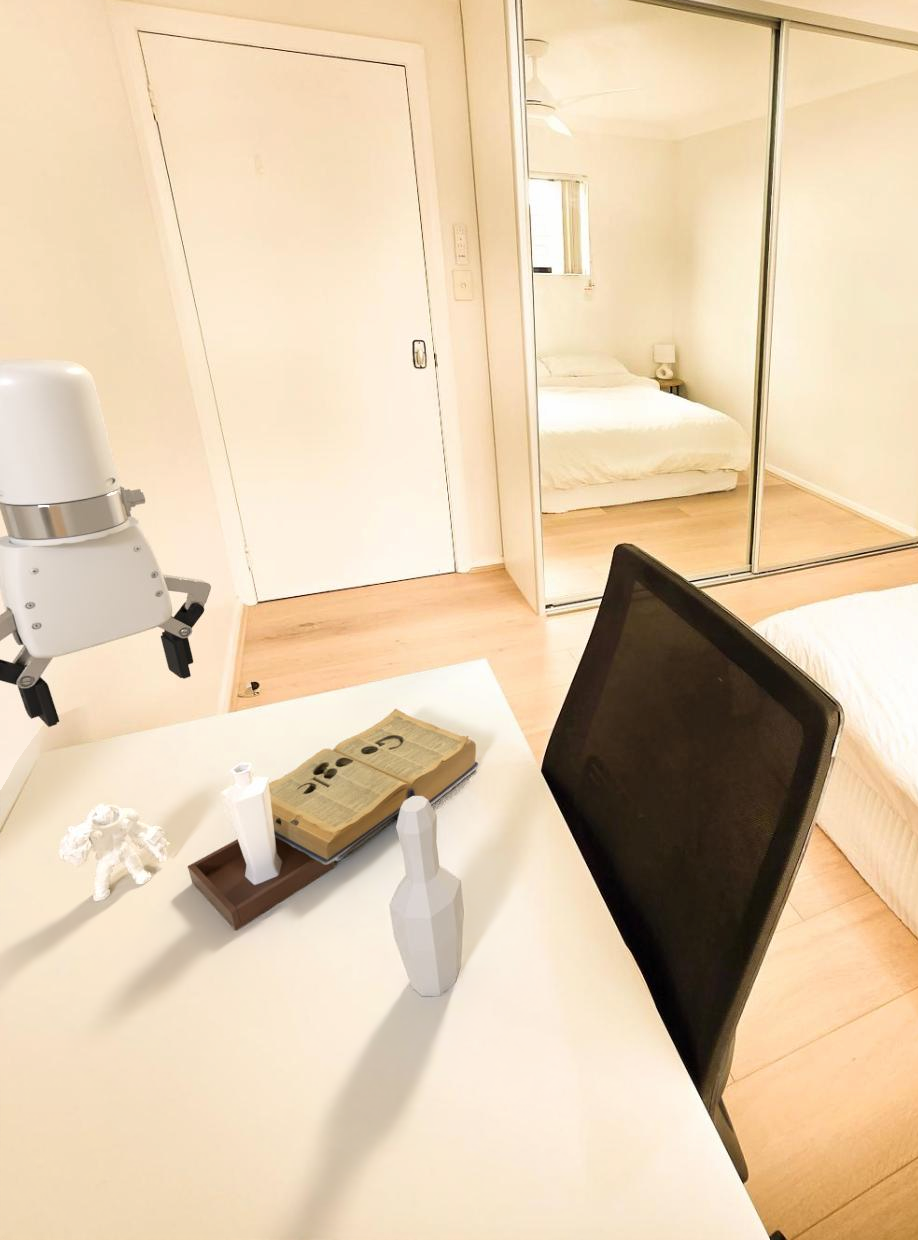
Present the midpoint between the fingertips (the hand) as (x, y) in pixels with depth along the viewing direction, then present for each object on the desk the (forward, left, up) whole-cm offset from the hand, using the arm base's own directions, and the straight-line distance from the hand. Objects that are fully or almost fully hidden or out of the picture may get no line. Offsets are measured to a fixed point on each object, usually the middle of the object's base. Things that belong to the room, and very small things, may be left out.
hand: (118, 695), depth 62 cm
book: (+25, +8, -32) cm, 41 cm away
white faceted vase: (+10, +6, -32) cm, 34 cm away
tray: (+10, +6, -32) cm, 34 cm away
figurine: (0, +17, -32) cm, 36 cm away
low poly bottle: (+14, -22, -32) cm, 42 cm away
